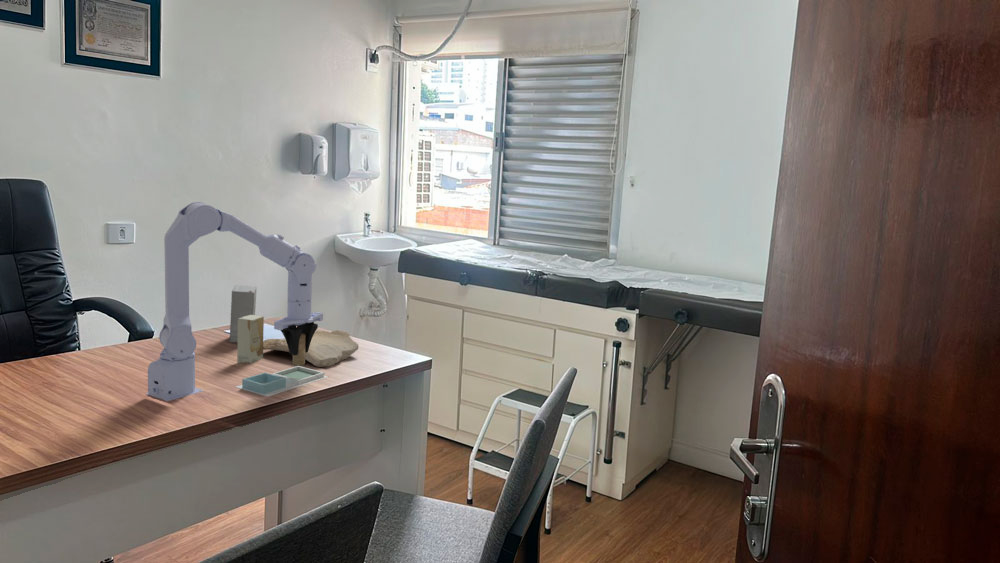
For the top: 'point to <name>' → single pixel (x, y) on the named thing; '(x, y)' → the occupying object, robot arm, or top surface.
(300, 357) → the dowel
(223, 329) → the top surface
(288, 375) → the organizer
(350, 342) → the tan rock slab
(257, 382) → the teal square tray
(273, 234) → the robot arm
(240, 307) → the skincare box
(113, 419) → the top surface
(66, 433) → the top surface
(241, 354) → the skincare box
